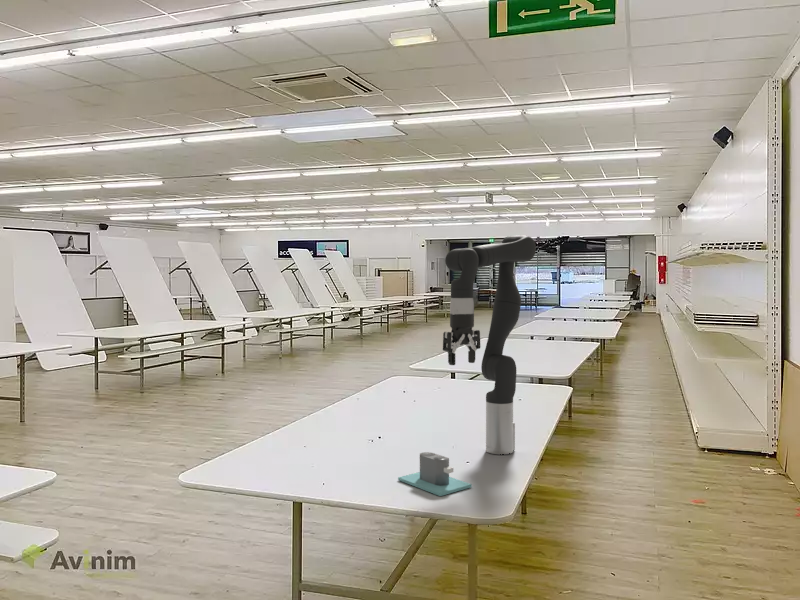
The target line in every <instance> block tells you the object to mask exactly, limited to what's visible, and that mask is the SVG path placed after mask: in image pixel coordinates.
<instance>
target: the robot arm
mask: <svg viewBox="0 0 800 600" xmlns="http://www.w3.org/2000/svg"><path fill="white" fill-rule="evenodd" d="M536 251H537V245H536V242H535V240H534V239H533V238H532V237H531V236H528V235H507V236H505V237H503V239H502V241H501V243H489V244H488V243H487V244H483V245H476V246H473V247H465V248H455V249H452V250H450V251H449V252H447V254H446V256H445V261H444V262H445V266H446V267H447V269H449V270H450V271H452V272H461V273H460V276H459V277H458V278H455V279H453V280H452V281H451V282H450V302H449V327H450V328H451V331H444V332H443V333H442V334H443V336H442V351H443V352H446V353H447V360H448V361H447V362H448V365H450V366H455V365H456V351H457V349H458V348H460V346H463V345H464V346H465V347H466V348H467V349H468V351H467V353H468V355H467V356H468V357H467V358H468V359H467V361H468V363H469V364H475V362H476V351H477V350H479V349H481V332H480V329H474V327H475V303H474V284H475V280H476V277H477V272H478V269H479V268H484V267H489V266H492V265H493V266H494V265H497V264H498V275H497V281H496V282H497V284H496V290H495V295H494V301H493V306H492V314H491V315H492V316H491V321H490V327H489V331H488V332H489V333H488V337H487V340H486V345H485V349H484V351H483V352H484V353H483V355H482V360H481V369H480V370H481V374H482V376H483V377H484V378H485V379H486V380H488V381H493V382H494V386H493V387H494V388H493V390H490V391H488V392H486V394H485V451H486V452H487V453H488V454H491V455H500V454H501V455H502V454H504V455H509V453H510V454H512V453H514V451H513V450H515V451H516V423H515V422H514V397H515V395H516V389H517V387H516V386H517V385H516V384H517V365H516V361H515V359H514V358H513V357H512V356H511V355H510V356H509V355H506V354H505V355H504V354H503V352H504V347H505V344H506V340H507V339H508V336H509V335H510V334H511V332H512V331H513V329H514V328H515V326H516V325H517V323H518V321H519V318H520V311H521V307H522V306H521V305H522V297H521V293H520V291H519V288H518V286H517V284H516V281H515V278H514V277H515V276H514V269H515V263H525V262H529V261H531V260H532V259H534V257H535V255H536ZM502 456H503V455H502Z"/></svg>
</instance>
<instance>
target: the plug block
mask: <svg viewBox="0 0 800 600" xmlns="http://www.w3.org/2000/svg"><path fill="white" fill-rule="evenodd" d="M419 472H420V479H421V480H424V481H426V482H429V483H432V484H434V485H438V486H445V485H448V484H449V477H450V474H452V473H454V467H453V466H450V458H449V457H447V456H445V455H441V454H437V453H435V452H430V451H425V452H420V453H419Z"/></svg>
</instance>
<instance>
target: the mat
mask: <svg viewBox="0 0 800 600" xmlns="http://www.w3.org/2000/svg"><path fill="white" fill-rule="evenodd" d="M397 480H398V481H399V482H402V483H405V484H407V485H410V486H412V487H416V488H417V489H421V490H423V491H426V492H428V493H431V494H433V495H435V496H439V497H441V496H442V497H443V496H446V495H448V494H449V495H450V494H453V493H455V492H460V491H462V490H467V489H470V488H472V483H469V482H466V481H463V480H460V479H457V478H455V477H451V476H449V484H448V485H445V486H438V485H434V484H432V483H429V482H426V481H424V480H421V479H420V471H418V472H416V473H414V472H413V473H411V474H410V473H409V474H406V475H402V476H398V478H397Z"/></svg>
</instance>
